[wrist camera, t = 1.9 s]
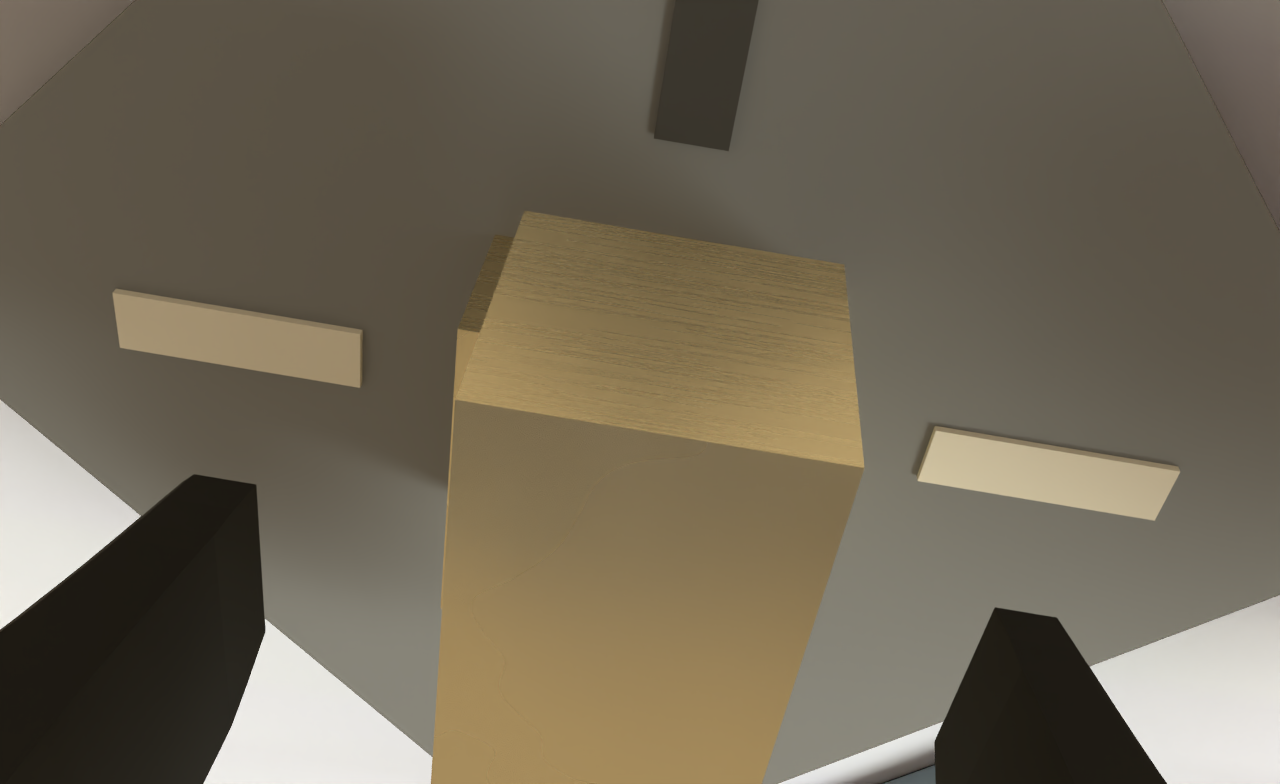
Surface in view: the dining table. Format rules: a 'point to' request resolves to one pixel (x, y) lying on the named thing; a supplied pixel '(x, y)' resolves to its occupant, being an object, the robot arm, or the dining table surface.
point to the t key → (638, 505)
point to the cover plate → (685, 207)
